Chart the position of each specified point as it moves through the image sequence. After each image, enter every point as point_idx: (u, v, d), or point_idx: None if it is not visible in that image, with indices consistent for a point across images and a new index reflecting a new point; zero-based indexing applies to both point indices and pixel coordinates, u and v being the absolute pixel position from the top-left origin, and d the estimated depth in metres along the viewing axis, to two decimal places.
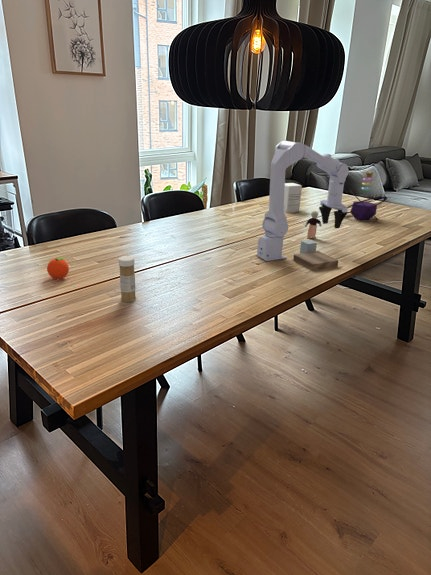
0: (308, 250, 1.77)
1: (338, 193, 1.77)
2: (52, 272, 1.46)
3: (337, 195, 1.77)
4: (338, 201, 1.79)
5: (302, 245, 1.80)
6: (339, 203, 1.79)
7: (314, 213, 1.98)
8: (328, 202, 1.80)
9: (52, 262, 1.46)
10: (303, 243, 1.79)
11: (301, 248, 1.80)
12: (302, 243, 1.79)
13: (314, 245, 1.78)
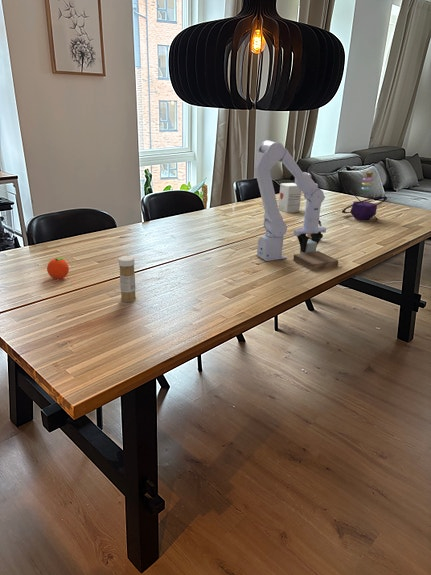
0: (308, 250, 1.77)
1: (313, 219, 1.73)
2: (52, 272, 1.46)
3: (304, 219, 1.75)
4: (304, 225, 1.76)
5: None
6: (305, 228, 1.75)
7: None
8: None
9: (52, 262, 1.46)
10: None
11: None
12: None
13: (314, 245, 1.78)
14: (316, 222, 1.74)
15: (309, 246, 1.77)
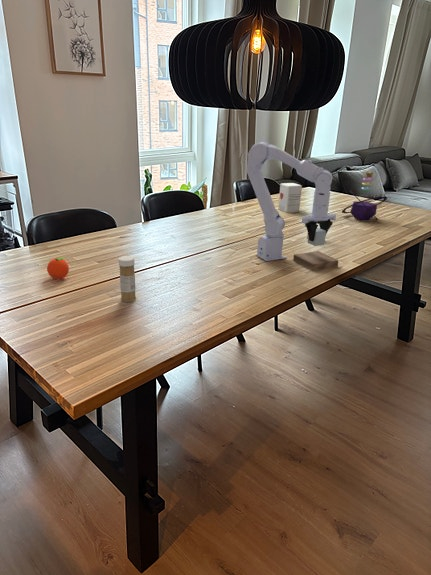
0: (316, 238, 1.66)
1: (318, 204, 1.62)
2: (52, 272, 1.46)
3: (313, 205, 1.64)
4: (313, 212, 1.64)
5: None
6: (314, 215, 1.64)
7: None
8: None
9: (52, 262, 1.46)
10: None
11: None
12: None
13: (323, 233, 1.67)
14: (326, 208, 1.62)
15: (318, 234, 1.66)
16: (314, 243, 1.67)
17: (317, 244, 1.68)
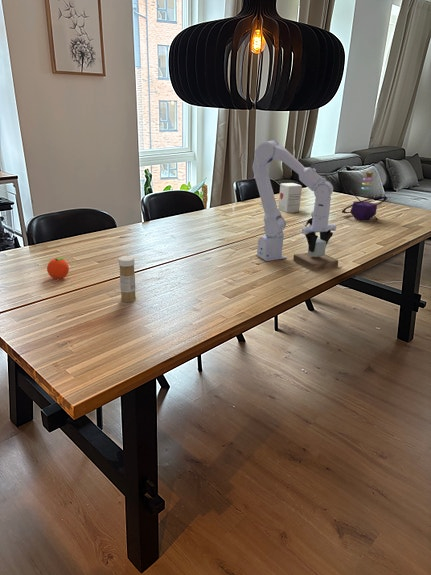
0: (316, 249, 1.66)
1: (317, 215, 1.62)
2: (52, 272, 1.46)
3: (313, 216, 1.64)
4: (313, 223, 1.64)
5: None
6: (314, 226, 1.64)
7: None
8: None
9: (52, 262, 1.46)
10: None
11: None
12: None
13: (323, 244, 1.67)
14: (326, 219, 1.62)
15: (318, 245, 1.66)
16: (314, 254, 1.67)
17: (317, 255, 1.67)
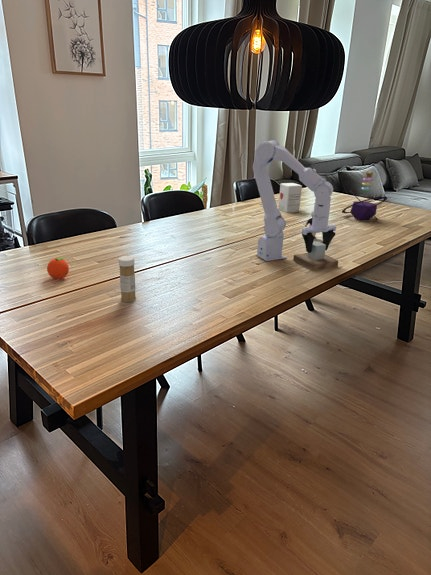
0: (316, 252, 1.67)
1: (317, 216, 1.62)
2: (52, 272, 1.46)
3: (313, 216, 1.64)
4: (313, 223, 1.64)
5: None
6: (314, 226, 1.64)
7: None
8: None
9: (52, 262, 1.46)
10: None
11: None
12: None
13: (323, 247, 1.67)
14: (326, 220, 1.62)
15: (318, 248, 1.66)
16: (314, 257, 1.68)
17: (317, 258, 1.68)
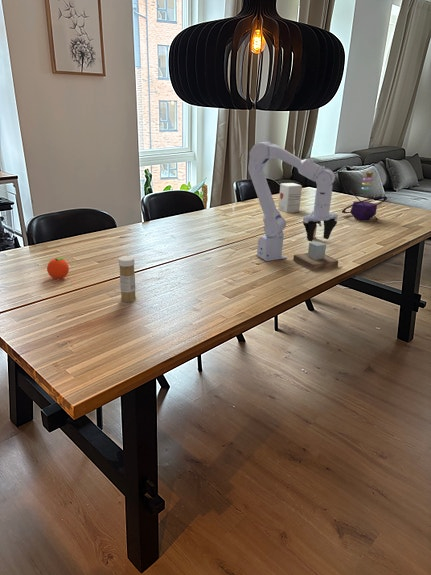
0: (317, 252, 1.67)
1: (319, 204, 1.60)
2: (52, 272, 1.46)
3: (314, 204, 1.62)
4: (314, 212, 1.63)
5: (310, 247, 1.69)
6: (316, 214, 1.62)
7: None
8: None
9: (52, 262, 1.46)
10: (311, 245, 1.68)
11: (310, 250, 1.69)
12: (310, 245, 1.69)
13: (323, 247, 1.67)
14: (327, 208, 1.61)
15: (318, 248, 1.66)
16: (314, 257, 1.68)
17: (317, 258, 1.68)
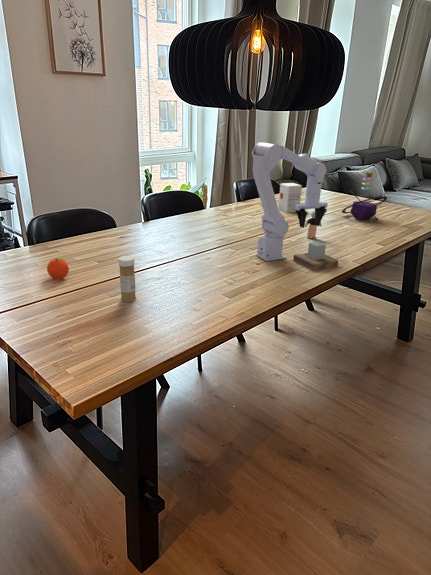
0: (316, 252, 1.67)
1: (316, 193, 1.74)
2: (52, 272, 1.46)
3: (306, 193, 1.77)
4: (306, 200, 1.77)
5: (310, 247, 1.69)
6: (307, 202, 1.77)
7: (314, 213, 1.98)
8: None
9: (52, 262, 1.46)
10: (311, 245, 1.68)
11: (309, 250, 1.69)
12: (310, 245, 1.69)
13: (323, 247, 1.67)
14: (317, 196, 1.75)
15: (318, 248, 1.66)
16: (314, 257, 1.68)
17: (317, 258, 1.68)
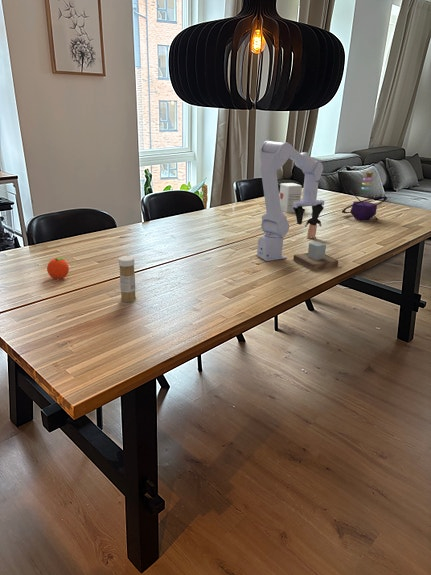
0: (317, 252, 1.67)
1: (314, 191, 1.79)
2: (52, 272, 1.46)
3: (303, 191, 1.81)
4: (303, 198, 1.82)
5: (310, 247, 1.68)
6: (304, 200, 1.81)
7: None
8: None
9: (52, 262, 1.46)
10: (312, 245, 1.68)
11: (310, 250, 1.69)
12: (310, 245, 1.68)
13: (323, 247, 1.67)
14: (314, 194, 1.80)
15: (318, 249, 1.66)
16: (315, 257, 1.67)
17: (318, 258, 1.68)
